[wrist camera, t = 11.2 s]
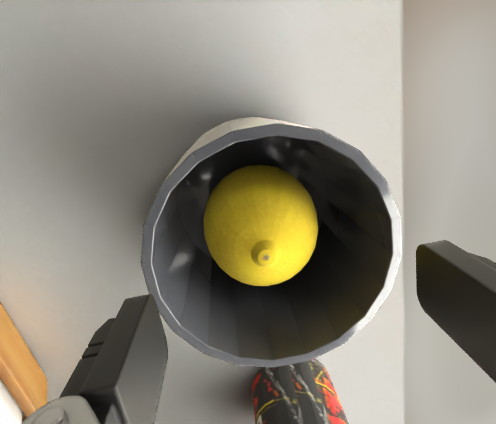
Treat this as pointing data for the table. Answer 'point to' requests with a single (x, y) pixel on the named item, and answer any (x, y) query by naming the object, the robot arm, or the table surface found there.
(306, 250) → the lemon
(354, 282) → the steel cup
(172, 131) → the table surface
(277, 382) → the deodorant
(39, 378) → the soap dish
